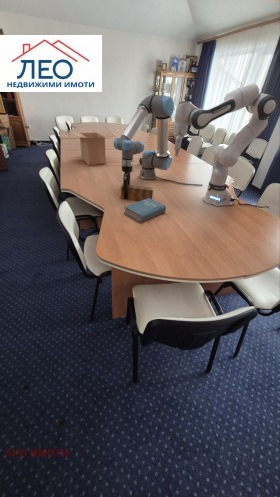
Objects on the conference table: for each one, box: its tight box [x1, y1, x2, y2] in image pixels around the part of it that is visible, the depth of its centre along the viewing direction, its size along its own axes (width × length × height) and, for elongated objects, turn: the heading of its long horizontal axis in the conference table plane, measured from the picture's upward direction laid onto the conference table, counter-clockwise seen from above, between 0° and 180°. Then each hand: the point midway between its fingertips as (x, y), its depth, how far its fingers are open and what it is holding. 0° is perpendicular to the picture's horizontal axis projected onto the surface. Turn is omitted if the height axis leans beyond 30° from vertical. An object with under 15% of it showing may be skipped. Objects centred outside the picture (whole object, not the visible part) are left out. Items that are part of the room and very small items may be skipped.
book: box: [123, 198, 167, 223], centre depth 146 cm, size 23×16×5 cm
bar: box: [120, 183, 154, 202], centre depth 163 cm, size 23×5×9 cm, turn 81°
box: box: [70, 129, 114, 166], centre depth 229 cm, size 44×36×27 cm
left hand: (126, 196), depth 166 cm, fingers closed on bar, 5 cm apart
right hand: (176, 154), depth 147 cm, fingers open, 8 cm apart
